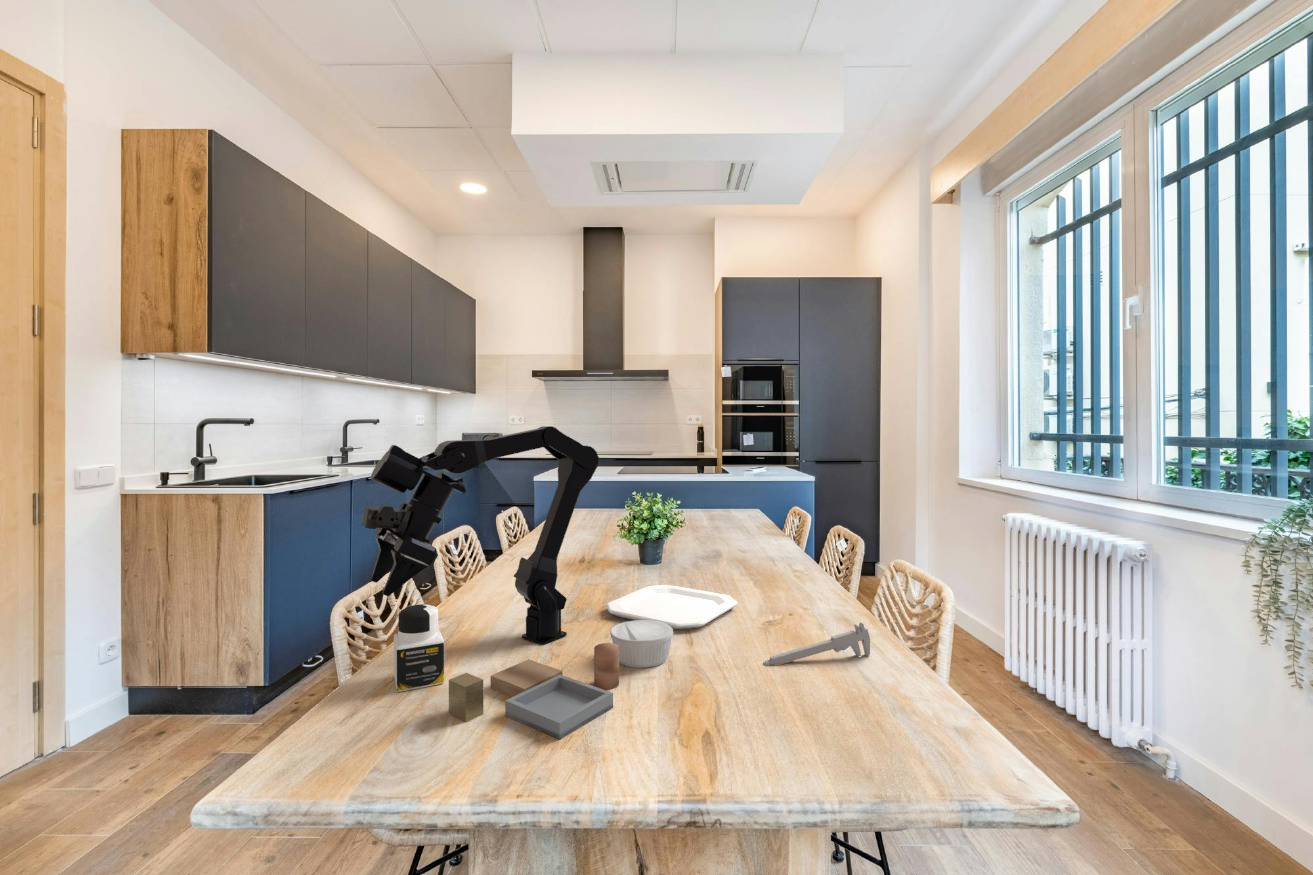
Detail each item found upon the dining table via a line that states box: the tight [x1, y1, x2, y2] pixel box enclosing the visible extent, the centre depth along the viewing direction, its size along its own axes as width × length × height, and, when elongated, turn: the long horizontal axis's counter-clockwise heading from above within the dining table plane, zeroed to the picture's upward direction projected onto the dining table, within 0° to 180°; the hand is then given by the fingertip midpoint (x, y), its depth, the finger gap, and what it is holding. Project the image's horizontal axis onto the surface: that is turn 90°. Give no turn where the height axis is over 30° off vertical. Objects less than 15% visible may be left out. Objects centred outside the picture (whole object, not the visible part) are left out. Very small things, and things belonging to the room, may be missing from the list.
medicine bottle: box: [393, 603, 445, 693], centre depth 96 cm, size 7×7×12 cm
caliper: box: [763, 622, 871, 667], centre depth 105 cm, size 20×1×6 cm, turn 103°
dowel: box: [593, 642, 620, 691], centre depth 95 cm, size 4×4×6 cm
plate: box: [605, 584, 738, 630], centre depth 133 cm, size 25×25×2 cm
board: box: [490, 658, 563, 698], centre depth 94 cm, size 8×8×2 cm
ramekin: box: [610, 620, 674, 669], centre depth 106 cm, size 11×11×5 cm
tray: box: [504, 674, 614, 740], centre depth 85 cm, size 11×11×2 cm
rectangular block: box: [448, 672, 484, 723], centre depth 85 cm, size 3×4×5 cm
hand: (379, 588), depth 99 cm, fingers open, 9 cm apart
